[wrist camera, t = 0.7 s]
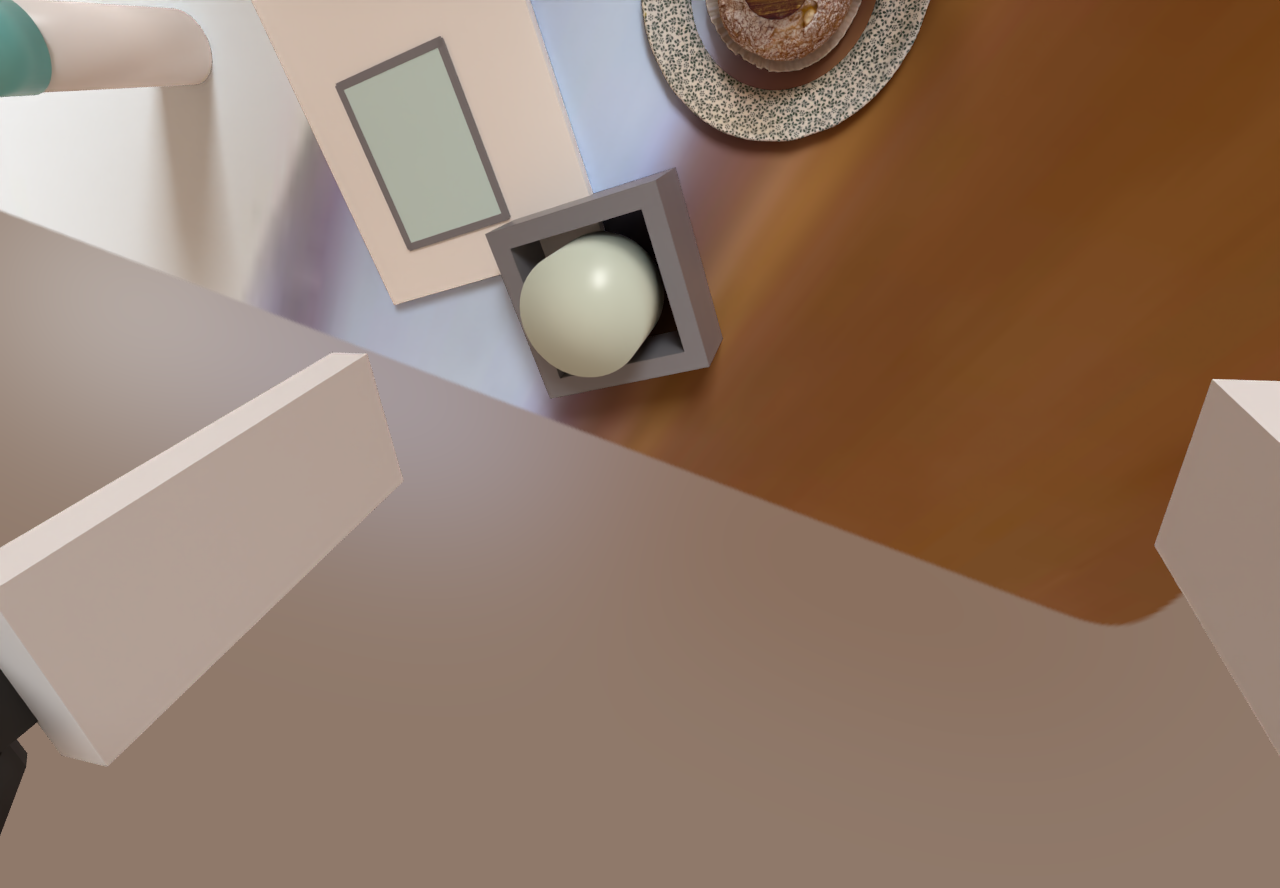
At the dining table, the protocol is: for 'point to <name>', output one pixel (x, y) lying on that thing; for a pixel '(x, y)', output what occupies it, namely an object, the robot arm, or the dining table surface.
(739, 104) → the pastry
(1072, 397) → the dining table surface
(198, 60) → the marker
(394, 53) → the sheet
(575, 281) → the button
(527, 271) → the button housing
